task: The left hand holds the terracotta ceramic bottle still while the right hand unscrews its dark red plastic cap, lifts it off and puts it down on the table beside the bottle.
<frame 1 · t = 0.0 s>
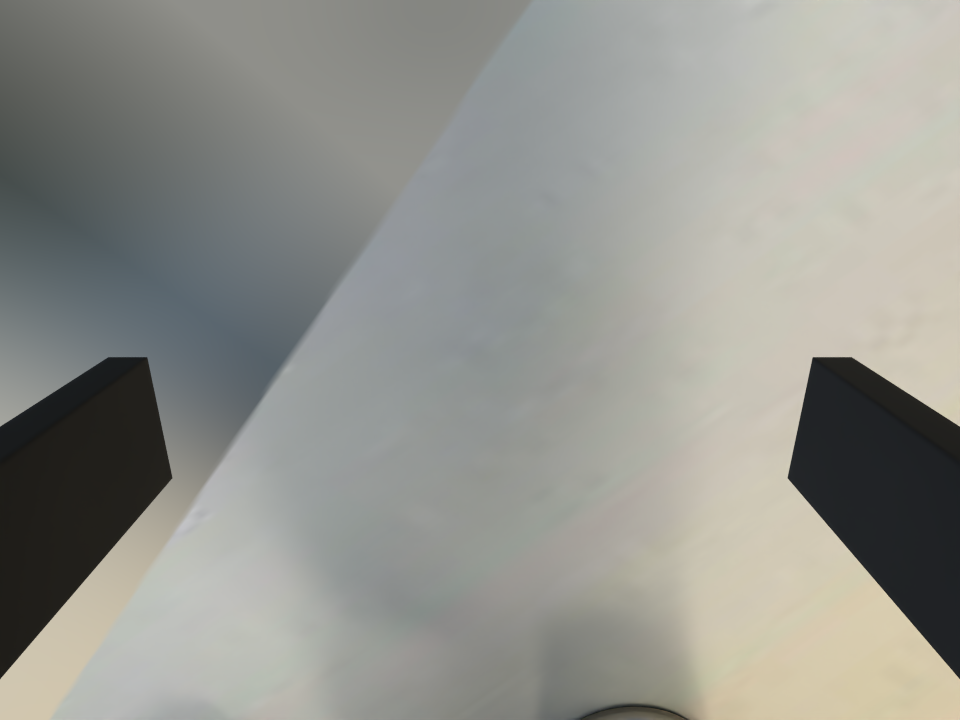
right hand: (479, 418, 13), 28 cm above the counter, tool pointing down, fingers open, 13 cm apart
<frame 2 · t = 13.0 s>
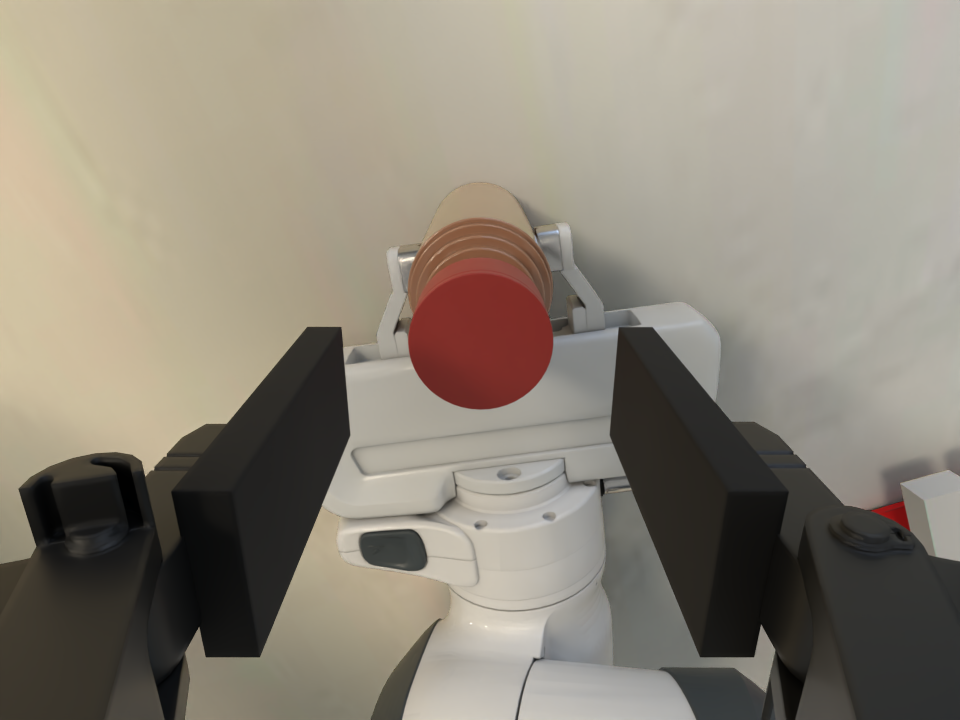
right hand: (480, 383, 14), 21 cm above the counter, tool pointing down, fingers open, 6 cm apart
left hand: (476, 236, 27), fingers closed on bottle, 5 cm apart
toy: (939, 619, 43), on the counter
cap: (480, 340, 17), point 18 cm above the counter, screwed on, not yet turned
bottle: (480, 231, 33), on the counter, touching left hand
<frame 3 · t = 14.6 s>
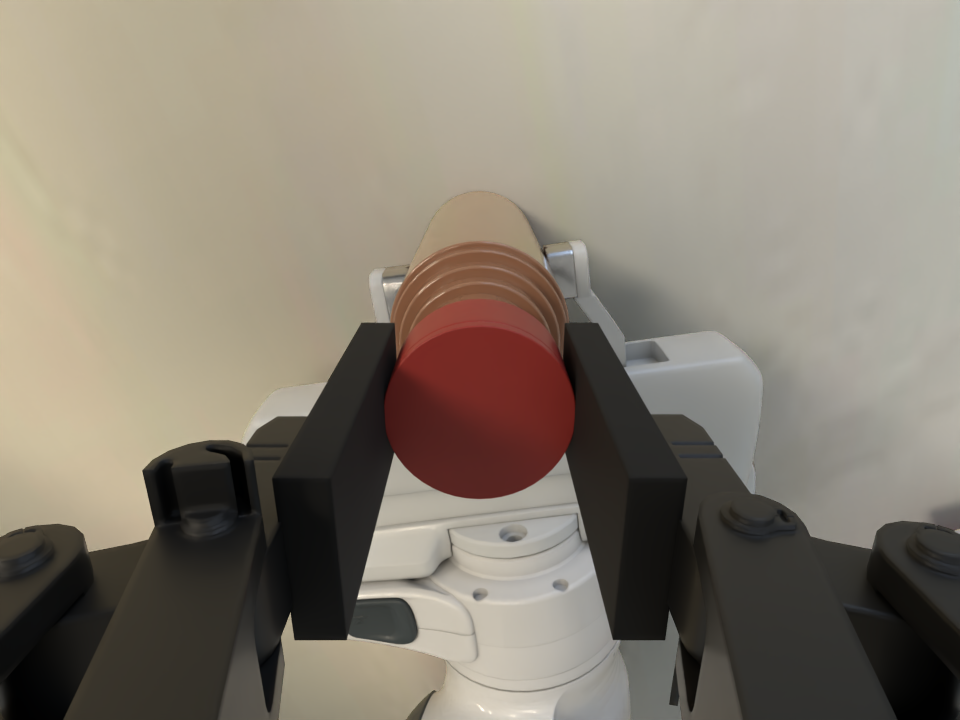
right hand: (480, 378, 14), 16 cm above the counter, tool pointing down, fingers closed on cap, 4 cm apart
cap: (479, 411, 13), point 18 cm above the counter, screwed on, not yet turned, touching right hand
bottle: (479, 246, 29), on the counter, touching left hand
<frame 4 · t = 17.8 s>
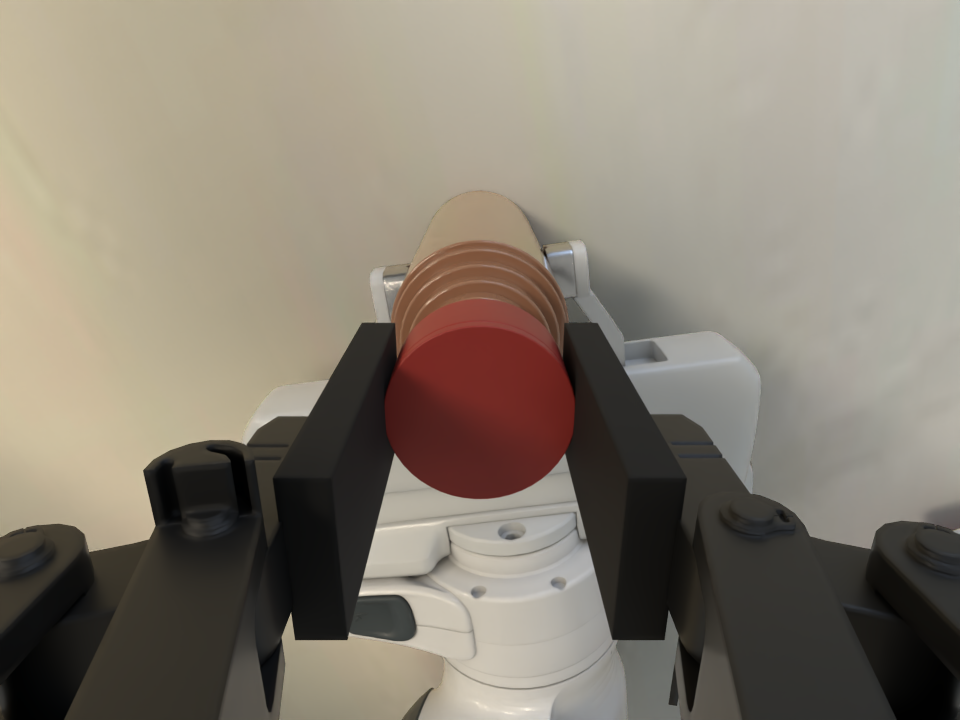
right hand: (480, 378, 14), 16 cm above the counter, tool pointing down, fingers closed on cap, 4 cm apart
cap: (479, 411, 13), point 18 cm above the counter, turned 111° so far, risen 0.1 cm, still on its thread, touching right hand
bottle: (479, 246, 29), on the counter, touching left hand
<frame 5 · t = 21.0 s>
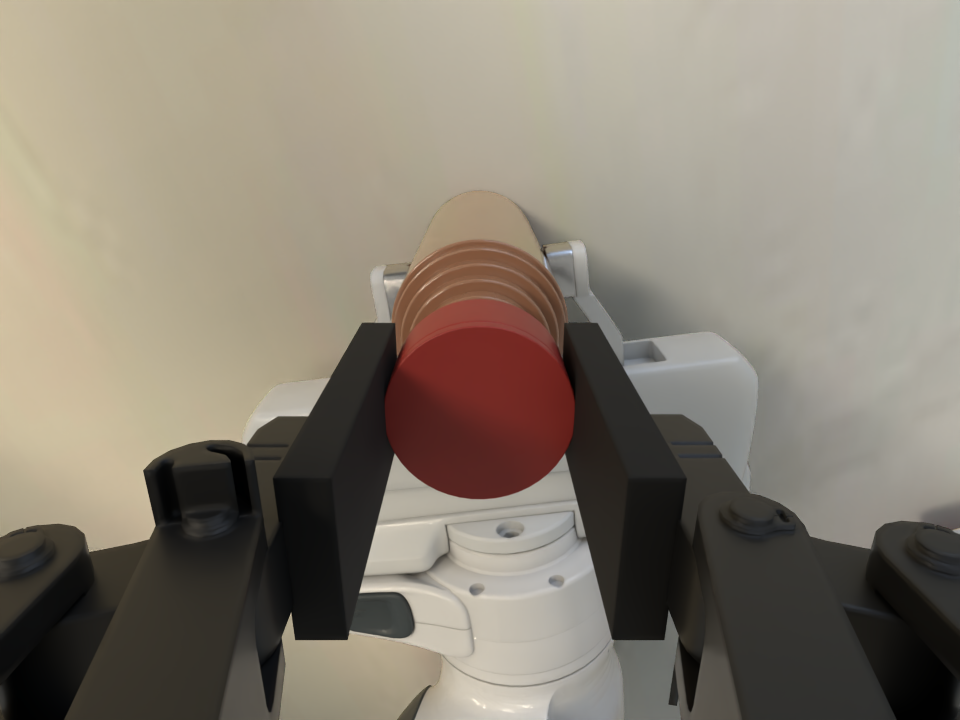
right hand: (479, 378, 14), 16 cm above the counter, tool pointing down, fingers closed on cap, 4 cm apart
cap: (479, 411, 13), point 18 cm above the counter, turned 222° so far, risen 0.3 cm, still on its thread, touching right hand
bottle: (479, 245, 30), on the counter, touching left hand
when the right hand's fingers open (1 cm above the counter, at t = 31.4 s): cap stays where it is, point 2 cm above the counter.
when the left hand's fingers open (7 cm above the counter, at t = 32.8 s): bottle stays where it is, on the counter.
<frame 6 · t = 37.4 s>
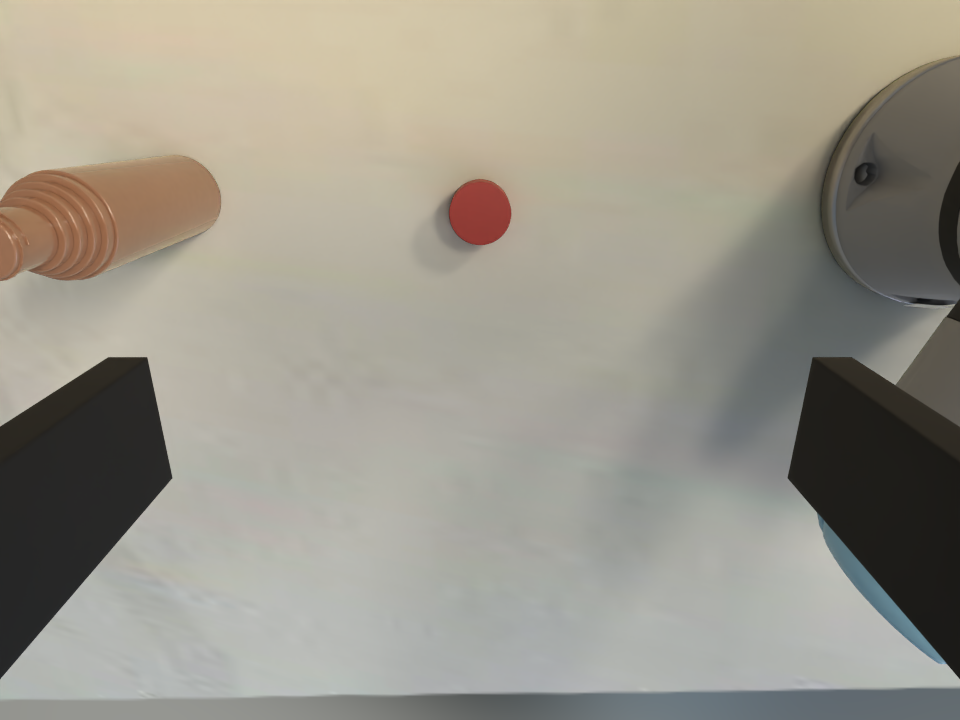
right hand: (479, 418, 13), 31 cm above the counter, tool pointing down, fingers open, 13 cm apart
cap: (480, 213, 39), point 2 cm above the counter, off its thread
bottle: (181, 196, 41), on the counter
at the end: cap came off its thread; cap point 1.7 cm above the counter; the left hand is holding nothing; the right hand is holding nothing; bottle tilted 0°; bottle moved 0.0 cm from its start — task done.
